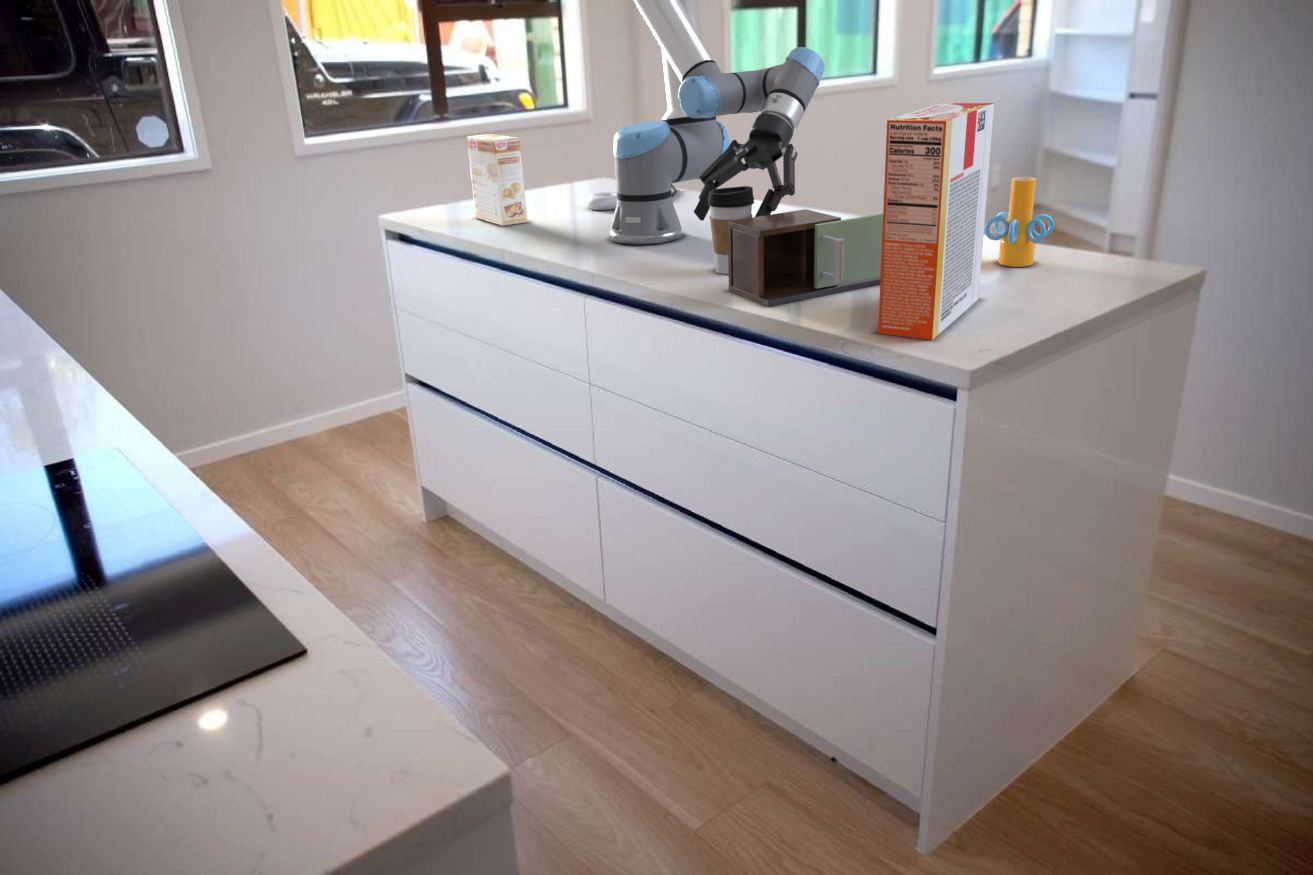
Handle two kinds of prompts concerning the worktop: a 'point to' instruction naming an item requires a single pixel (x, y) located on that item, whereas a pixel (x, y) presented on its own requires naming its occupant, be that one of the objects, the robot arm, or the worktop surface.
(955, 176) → the cereal box
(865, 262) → the door
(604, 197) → the donut
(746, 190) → the coffee cup
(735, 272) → the cabinet
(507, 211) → the coffeecake box
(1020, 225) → the cylinder
